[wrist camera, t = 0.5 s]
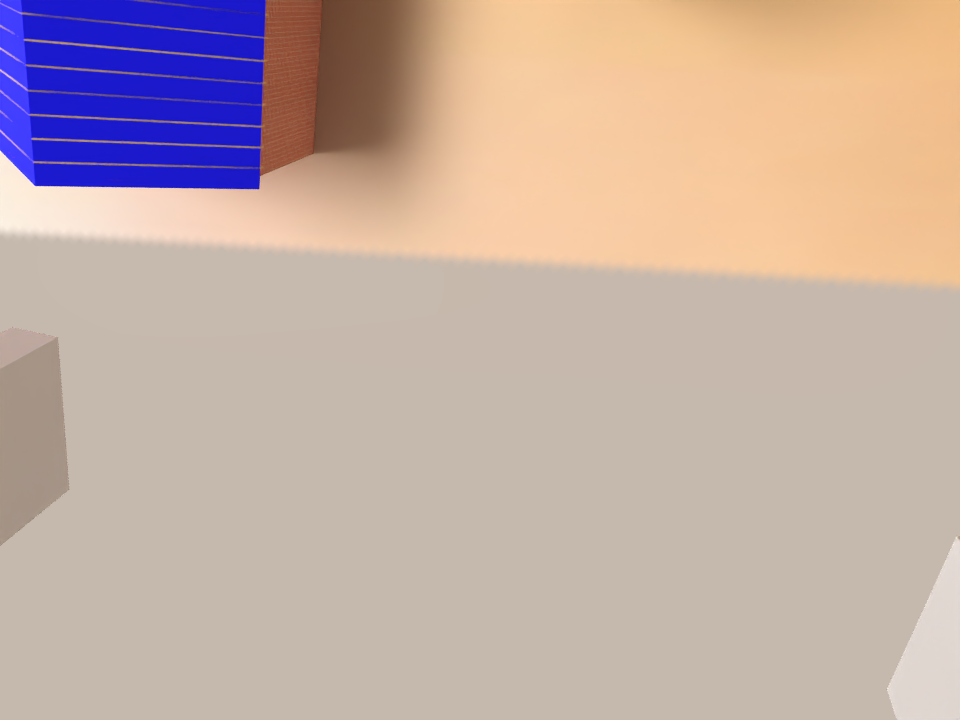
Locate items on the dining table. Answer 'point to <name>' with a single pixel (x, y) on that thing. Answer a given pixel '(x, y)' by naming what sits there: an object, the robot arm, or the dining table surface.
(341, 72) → the dining table surface
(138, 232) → the dining table surface
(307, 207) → the dining table surface
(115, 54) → the blue roofed brick block
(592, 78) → the dining table surface
